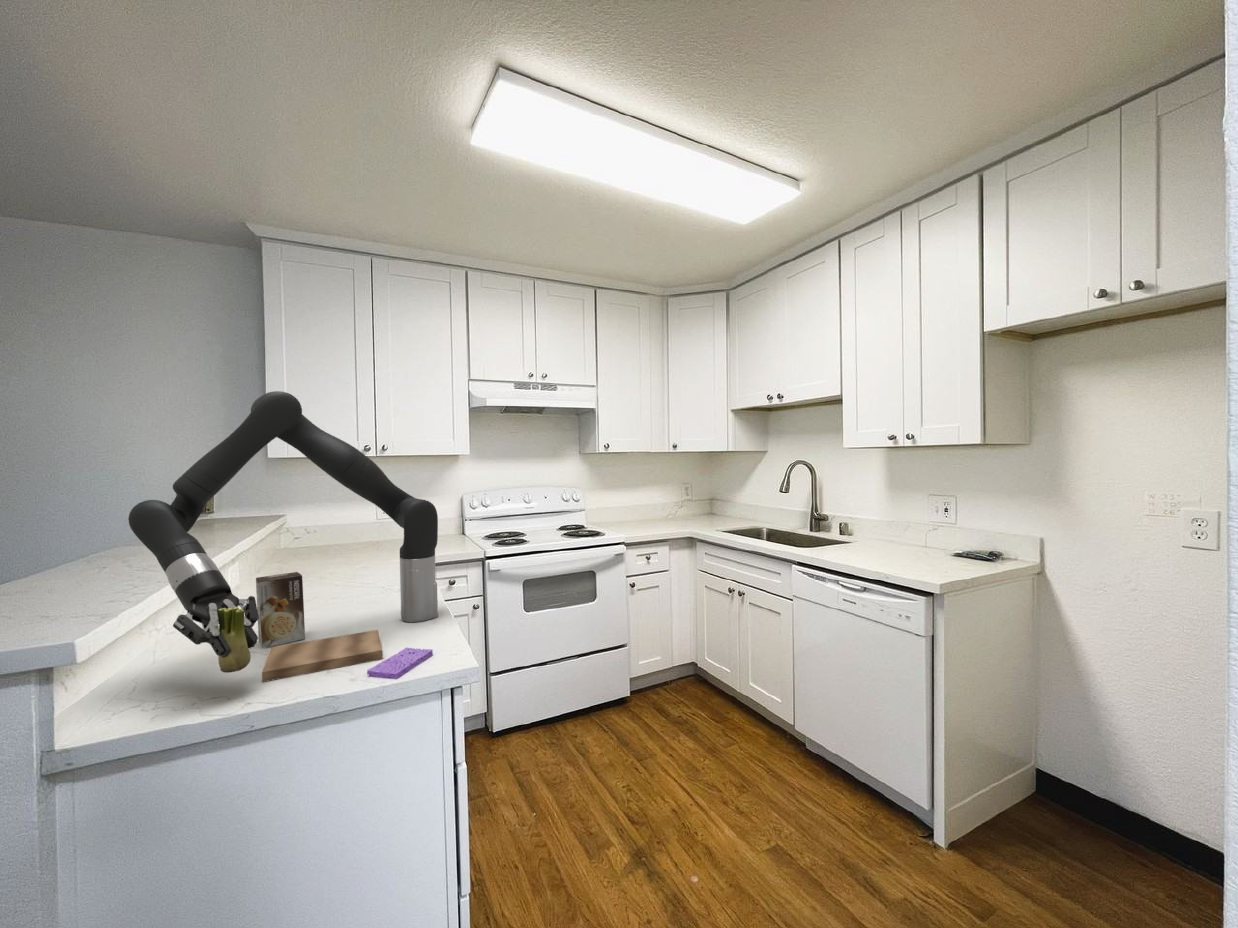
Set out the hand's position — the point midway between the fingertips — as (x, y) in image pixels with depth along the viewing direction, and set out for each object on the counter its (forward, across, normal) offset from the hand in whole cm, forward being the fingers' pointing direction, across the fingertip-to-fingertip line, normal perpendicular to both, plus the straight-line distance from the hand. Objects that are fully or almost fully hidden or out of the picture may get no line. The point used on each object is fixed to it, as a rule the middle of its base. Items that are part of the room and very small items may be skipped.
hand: (240, 649), depth 95 cm
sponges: (+20, +21, -6) cm, 30 cm away
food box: (-8, +22, +21) cm, 32 cm away
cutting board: (+6, +18, +7) cm, 20 cm away
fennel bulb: (+2, 0, +4) cm, 5 cm away
